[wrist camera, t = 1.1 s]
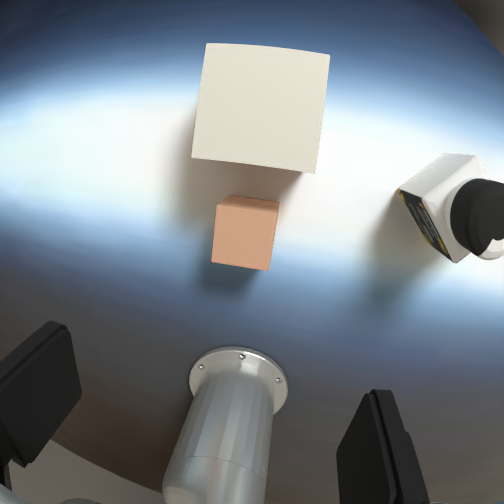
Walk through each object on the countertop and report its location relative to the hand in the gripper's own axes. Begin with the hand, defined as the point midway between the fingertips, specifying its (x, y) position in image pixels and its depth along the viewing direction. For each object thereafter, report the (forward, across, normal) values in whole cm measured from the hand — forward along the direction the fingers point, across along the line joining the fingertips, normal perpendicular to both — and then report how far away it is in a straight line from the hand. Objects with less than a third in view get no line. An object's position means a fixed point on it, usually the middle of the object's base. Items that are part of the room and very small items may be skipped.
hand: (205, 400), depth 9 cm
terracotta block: (+25, +1, 0) cm, 25 cm away
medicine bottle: (+25, -18, -6) cm, 31 cm away
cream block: (+21, +1, -10) cm, 23 cm away
